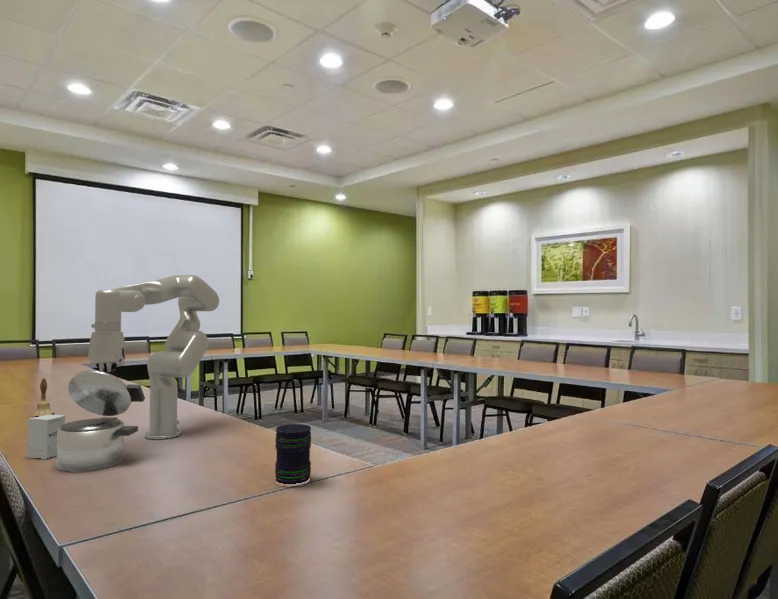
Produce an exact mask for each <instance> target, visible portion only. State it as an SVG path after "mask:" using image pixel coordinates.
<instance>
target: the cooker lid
mask: <svg viewBox="0 0 778 599" xmlns="http://www.w3.org/2000/svg"><path fill="white" fill-rule="evenodd" d="M67 388H68V394H69V396H70V398H71V399H72V401H73V402H74V403H75V404H77V405H78V406H79V407H80V408H82V409H83V410H84V411H87V412H89V413H91V414H94V415H97V416H98V415H99V416H103V417H114V416H119V415H122V414H124V413H125V412H126V411H127V410H128V409H129V408H130V406H131V405H132V403H133V402H137V403H139V402H140V403H143V402H144V401H145V399H146V397H145V395H144V392H143V388H142V386H141V384H126V383H125V381H123V380H122V379H120V378H119V377H117V376H115V375H114V374H113V375H111V374H109V373H106V372H102V371H100V370H96V369H89V370H83V371H80V372H77V373H76V374H74V376H72V378H71V379H70V380H69V382H68V387H67Z"/></svg>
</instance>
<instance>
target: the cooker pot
mask: <svg viewBox="0 0 778 599" xmlns="http://www.w3.org/2000/svg"><path fill="white" fill-rule="evenodd" d="M137 432H139V426H138V425H125V421H123V420H121V419H118V417H114V416H103V417H99V418H87V419H82V420H81V419H80V420H73V421H71V422H65V424H63V425H61V426H60V427H58V428H57V456H56V463H55V464H56V466H55V467H57V468H56V470H58V469H59V470H58V471H60V470H62V471H61V472H64V471H69V472H68V473H81V472H80V471H86V472H91V471H90V470H94V471H98V470H97V469H100V470H103V469H102V468H105V469H108V468H111V467H110V466H112V467H114V466H113V465H115V466H117V465H119V464H121V463H122V462H124V459H123V458H124V454H125V453H124V452H125V451H124V450H125V449H124V448H125V447H124V444H125V443H124V442H125V441H124V439H125V438H124V437H128V436H130V435H133V434H135V433H137ZM121 461H122V462H121ZM120 462H121V463H120ZM118 463H119V464H118ZM116 464H117V465H116ZM107 467H108V468H107Z"/></svg>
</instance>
